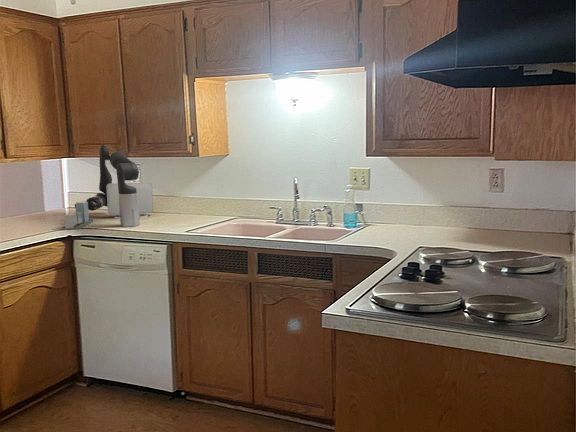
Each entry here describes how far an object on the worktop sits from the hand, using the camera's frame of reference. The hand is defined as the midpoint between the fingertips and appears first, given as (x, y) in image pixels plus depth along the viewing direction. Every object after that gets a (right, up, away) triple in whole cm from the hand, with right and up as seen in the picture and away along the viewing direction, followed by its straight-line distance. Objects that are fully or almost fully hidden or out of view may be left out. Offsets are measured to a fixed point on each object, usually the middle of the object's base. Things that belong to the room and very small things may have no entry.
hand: (84, 207), depth 323 cm
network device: (+21, -6, +20) cm, 29 cm away
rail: (0, -10, -10) cm, 14 cm away
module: (0, -9, -2) cm, 9 cm away
